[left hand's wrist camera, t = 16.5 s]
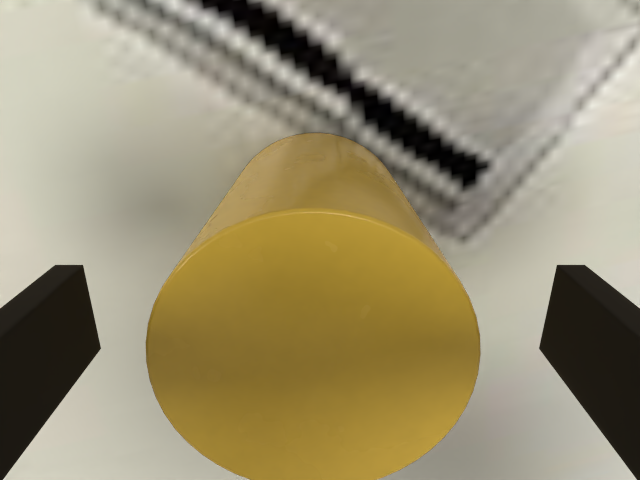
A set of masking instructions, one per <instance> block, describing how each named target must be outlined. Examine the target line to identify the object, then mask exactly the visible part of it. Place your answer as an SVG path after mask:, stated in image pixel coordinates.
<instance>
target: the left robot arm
mask: <svg viewBox="0 0 640 480" xmlns="http://www.w3.org/2000/svg"><path fill="white" fill-rule="evenodd" d="M100 349H101V347H100V342H99V338H98V333H97V328H96V324H95V319H94V314H93V310H92V305H91V300H90V296H89V291H88V286H87V282H86V277H85V273H84V268H83V265H55V266H53V267H52V268H51V269H50V270H48V271H47V272H46V273H45V274H43V275H42V276H41V277H40V278H38V279H37V280H36V281H34V282H33V283H32V284H31V285H29V286H28V287H27V288H26V289H24V290H23V291H22V292H21V293H19V294H18V295H17V296H16V297H14V298H13V299H12V300H10V301H9V302H8V303H7V304H5V305H4V306H3V307H2V308H0V480H3V479H4V477H5V476H6V475H7V473H8V472H9V471H10V469H11V468H12V467H13V465H14V464H15V463H16V461H17V460H18V459H19V457H20V456H21V455H22V453H23V452H24V451H25V449H26V448H27V447H28V445H29V444H30V443H31V441H32V440H33V439H34V437H35V436H36V435H37V433H38V432H39V431H40V429H41V428H42V427H43V425H44V424H45V423H46V421H47V420H48V419H49V417H50V416H51V415H52V413H53V412H54V410H55V409H56V408H57V406H58V405H59V404H60V402H61V401H62V400H63V398H64V397H65V396H66V394H67V393H68V392H69V390H70V389H71V388H72V386H73V385H74V384H75V382H76V381H77V380H78V378H79V377H80V376H81V374H82V373H83V372H84V370H85V369H86V368H87V366H88V365H89V364H90V362H91V361H92V360H93V358H94V357H95V356H96V354H97V353H98V352H99V350H100ZM539 349H540V350H541V352H542V353H543V354H544V356H545V357H546V358H547V360H548V361H549V362H550V364H551V365H552V366H553V368H554V369H555V370H556V372H557V373H558V374H559V376H560V377H561V378H562V380H563V381H564V382H565V384H566V385H567V386H568V388H569V389H570V390H571V392H572V393H573V394H574V396H575V397H576V398H577V400H578V401H579V402H580V404H581V405H582V406H583V408H584V409H585V410H586V412H587V413H588V415H589V416H590V417H591V419H592V420H593V421H594V423H595V424H596V425H597V427H598V428H599V429H600V431H601V432H602V433H603V435H604V436H605V437H606V439H607V440H608V441H609V443H610V444H611V445H612V447H613V448H614V449H615V451H616V452H617V453H618V455H619V456H620V457H621V459H622V460H623V461H624V463H625V464H626V465H627V467H628V468H629V469H630V471H631V472H632V473H633V475H634V476H635V477H636V479H637V480H640V308H638V307H637V306H636V305H635V304H633V303H632V302H631V301H629V300H628V299H627V298H626V297H624V296H623V295H622V294H621V293H619V292H618V291H617V290H616V289H614V288H613V287H612V286H611V285H609V284H608V283H607V282H606V281H604V280H603V279H602V278H600V277H599V276H598V275H597V274H595V273H594V272H593V271H592V270H590V269H589V268H588V267H587V266H585V265H557V268H556V272H555V277H554V282H553V286H552V291H551V296H550V300H549V305H548V310H547V314H546V319H545V324H544V328H543V333H542V338H541V342H540V347H539Z"/></svg>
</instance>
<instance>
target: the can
mask: <svg viewBox="0 0 640 480" xmlns="http://www.w3.org/2000/svg"><path fill="white" fill-rule="evenodd" d="M146 362H147V368H148V373H149V378H150V382H151V385H152V388H153V391H154V393H155V396H156V399H157V401H158V402H159V404H160V406H161V408H162V410H163V412H164V414H165V415H166V417H167V418H168V420H169V421H170V422H171V424H172V425H173V427H174V428H175V429H176V430H177V431H178V432H179V434H180V435H181V436H182V437H183V438H184V439H185V440H186V441H187V442H188V443H189V444H190V445H191V446H193V447H194V448H195V449H196V450H197V451H198V452H200V453H201V454H202V455H204V456H205V457H207V458H208V459H210V460H211V461H213V462H214V463H216V464H217V465H219V466H221V467H223V468H225V469H227V470H229V471H231V472H233V473H235V474H237V475H240V476H242V477H245V478H247V479H250V480H377V479H380V478H383V477H385V476H387V475H389V474H392V473H394V472H396V471H399V470H401V469H402V468H404V467H406V466H408V465H409V464H411V463H413V462H414V461H416V460H418V459H419V458H420V457H422V456H423V455H424V454H426V453H427V452H428V451H430V450H431V449H432V448H433V447H434V446H435V445H436V444H437V443H439V442H440V441H441V440H442V439H443V438H444V437H445V436H446V434H447V433H448V432H449V431H450V430H451V428H452V427H453V426H454V425H455V424H456V422H457V421H458V419H459V417H460V416H461V414H462V413H463V411H464V409H465V408H466V406H467V404H468V401H469V399H470V397H471V395H472V392H473V390H474V386H475V383H476V379H477V375H478V370H479V362H480V333H479V328H478V323H477V318H476V314H475V312H474V309H473V306H472V303H471V301H470V298H469V296H468V294H467V292H466V291H465V289H464V287H463V285H462V283H461V282H460V280H459V278H458V277H457V275H456V274H455V272H454V271H453V269H452V268H451V266H450V265H449V263H448V261H447V260H446V258H445V257H444V255H443V254H442V252H441V251H440V249H439V248H438V246H437V245H436V243H435V242H434V240H433V238H432V237H431V235H430V234H429V232H428V231H427V229H426V228H425V226H424V225H423V223H422V222H421V220H420V219H419V217H418V215H417V214H416V212H415V211H414V209H413V208H412V206H411V205H410V203H409V202H408V200H407V199H406V197H405V196H404V194H403V192H402V191H401V189H400V188H399V186H398V185H397V183H396V182H395V180H394V179H393V177H392V176H391V174H390V173H389V171H388V170H387V168H386V167H385V166H384V165H383V163H382V162H381V161H380V160H379V159H378V158H377V157H376V156H375V155H374V154H373V153H371V152H370V151H369V150H367V149H366V148H365V147H363V146H361V145H359V144H358V143H356V142H354V141H352V140H349V139H347V138H344V137H341V136H337V135H333V134H325V133H305V134H299V135H294V136H291V137H287V138H284V139H282V140H279V141H277V142H275V143H273V144H271V145H270V146H268V147H267V148H265V149H263V150H262V151H261V152H260V153H259V154H257V155H256V156H255V157H254V158H253V159H252V160H251V161H250V162H249V163H248V165H247V166H246V167H245V168H244V170H243V171H242V173H241V174H240V176H239V177H238V178H237V180H236V181H235V183H234V184H233V186H232V187H231V188H230V190H229V191H228V193H227V194H226V196H225V197H224V198H223V200H222V201H221V203H220V204H219V206H218V207H217V208H216V210H215V211H214V213H213V214H212V216H211V217H210V218H209V220H208V221H207V223H206V224H205V226H204V227H203V228H202V230H201V231H200V233H199V234H198V236H197V237H196V238H195V240H194V241H193V243H192V244H191V246H190V247H189V248H188V250H187V251H186V253H185V254H184V256H183V257H182V258H181V260H180V261H179V263H178V264H177V266H176V267H175V268H174V270H173V271H172V273H171V274H170V276H169V277H168V279H167V280H166V282H165V283H164V285H163V286H162V288H161V290H160V292H159V294H158V296H157V299H156V301H155V303H154V305H153V308H152V312H151V315H150V319H149V322H148V328H147V336H146Z"/></svg>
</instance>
